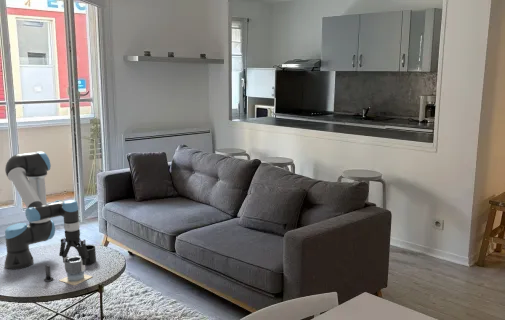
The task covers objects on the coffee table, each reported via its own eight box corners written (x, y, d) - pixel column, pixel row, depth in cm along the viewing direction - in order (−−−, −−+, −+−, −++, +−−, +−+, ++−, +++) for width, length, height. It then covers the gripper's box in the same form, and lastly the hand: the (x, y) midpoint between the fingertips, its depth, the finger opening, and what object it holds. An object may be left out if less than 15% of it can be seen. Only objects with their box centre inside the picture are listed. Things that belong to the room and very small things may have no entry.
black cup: (82, 268, 275) (81, 253, 274) (77, 261, 285) (76, 247, 284) (99, 264, 281) (98, 249, 279) (93, 258, 290) (92, 243, 289)
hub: (59, 280, 259) (57, 264, 257) (77, 272, 269) (76, 257, 267) (74, 285, 253) (73, 269, 251) (92, 277, 263) (91, 261, 261)
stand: (41, 280, 259) (40, 266, 258) (49, 277, 263) (48, 263, 262) (47, 282, 257) (46, 268, 255) (55, 279, 261) (54, 265, 259)
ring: (62, 272, 257) (61, 261, 256) (73, 265, 266) (72, 255, 265) (77, 274, 254) (76, 263, 253) (87, 267, 263) (87, 256, 262)
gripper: (49, 230, 255) (53, 270, 259) (86, 233, 249) (88, 274, 253) (58, 225, 262) (62, 264, 266) (94, 228, 257) (97, 268, 261)
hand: (75, 269), depth 260 cm, fingers closed on ring, 9 cm apart
